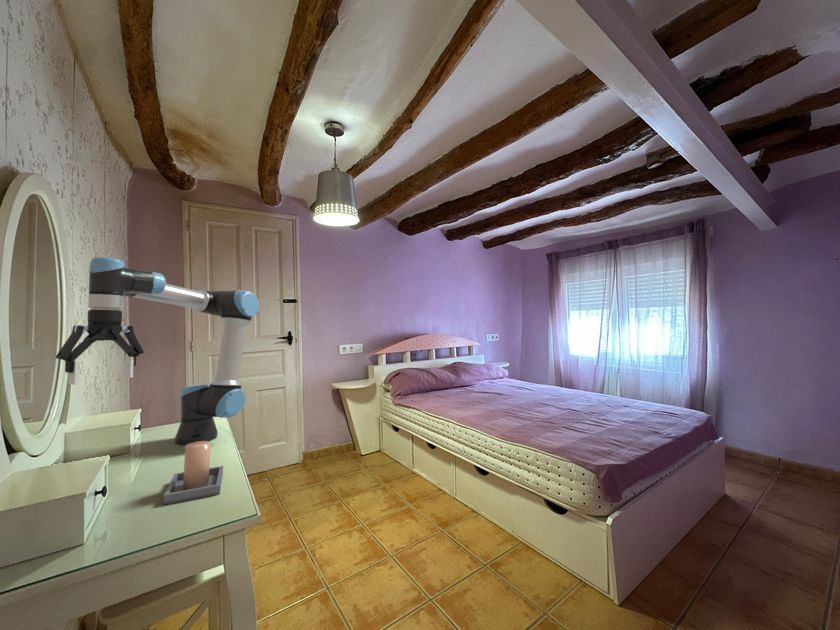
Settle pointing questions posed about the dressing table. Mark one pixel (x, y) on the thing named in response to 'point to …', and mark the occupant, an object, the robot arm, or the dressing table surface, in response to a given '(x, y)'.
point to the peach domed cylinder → (196, 465)
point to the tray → (179, 494)
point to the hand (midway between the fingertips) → (102, 380)
